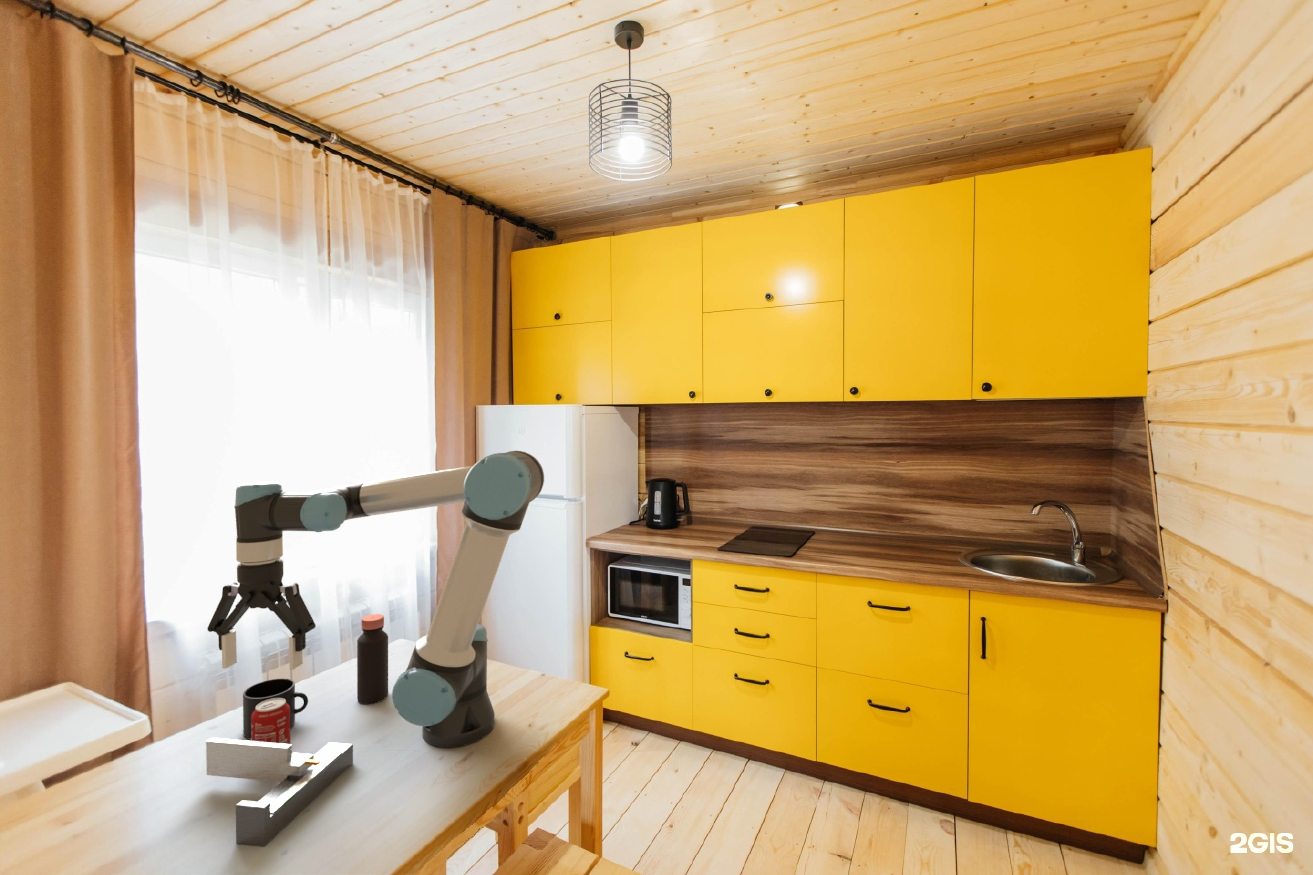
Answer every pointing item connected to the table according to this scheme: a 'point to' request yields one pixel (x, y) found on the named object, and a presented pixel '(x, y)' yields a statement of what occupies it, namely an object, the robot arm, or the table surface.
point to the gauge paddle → (255, 760)
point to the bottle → (372, 661)
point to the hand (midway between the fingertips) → (262, 666)
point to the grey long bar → (290, 797)
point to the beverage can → (271, 721)
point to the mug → (269, 691)
